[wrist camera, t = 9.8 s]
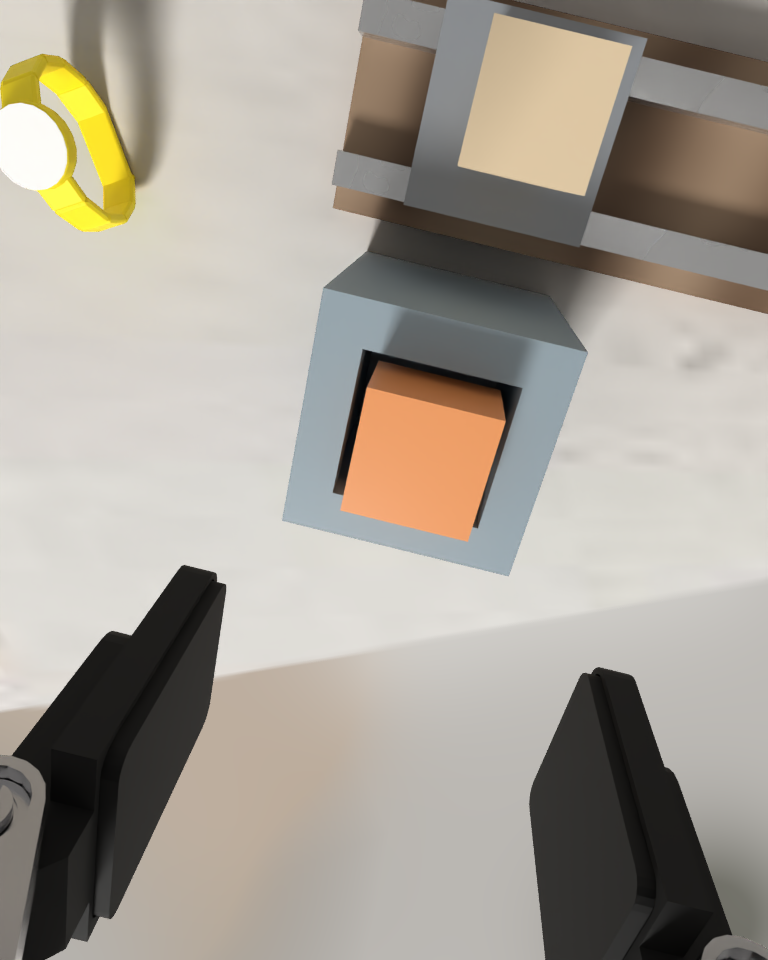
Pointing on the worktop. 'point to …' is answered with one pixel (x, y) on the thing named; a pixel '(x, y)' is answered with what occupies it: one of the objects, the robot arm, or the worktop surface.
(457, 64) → the carriage
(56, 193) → the watch
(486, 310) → the end cabinet
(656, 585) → the worktop surface
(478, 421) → the button
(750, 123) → the rail board
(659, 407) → the worktop surface
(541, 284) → the worktop surface
